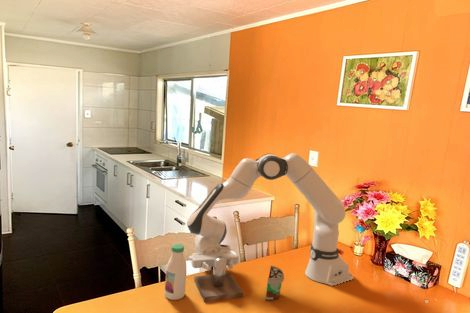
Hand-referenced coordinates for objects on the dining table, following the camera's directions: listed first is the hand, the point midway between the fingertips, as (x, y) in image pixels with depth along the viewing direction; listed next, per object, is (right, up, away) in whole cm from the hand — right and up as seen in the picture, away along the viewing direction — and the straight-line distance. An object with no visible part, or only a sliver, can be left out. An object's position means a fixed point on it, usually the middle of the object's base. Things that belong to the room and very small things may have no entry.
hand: (220, 267), depth 135 cm
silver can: (-1, -7, +2) cm, 7 cm away
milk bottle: (-18, -9, -5) cm, 20 cm away
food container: (+22, -12, 0) cm, 25 cm away
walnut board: (-1, -9, +2) cm, 10 cm away
